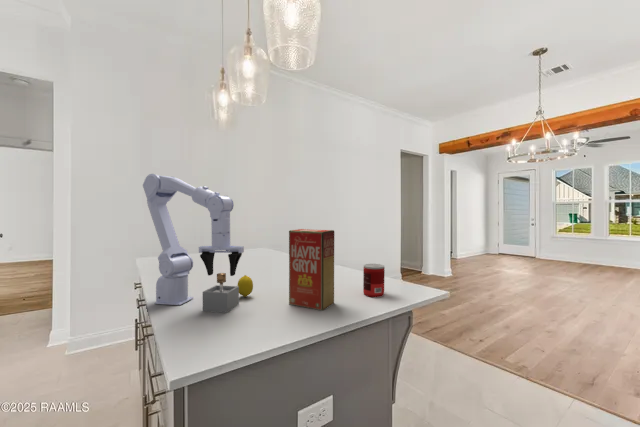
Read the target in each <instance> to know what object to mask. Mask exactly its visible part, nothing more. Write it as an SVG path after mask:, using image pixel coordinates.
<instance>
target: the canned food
mask: <svg viewBox="0 0 640 427" xmlns="http://www.w3.org/2000/svg"><path fill="white" fill-rule="evenodd" d="M362 273H363V281H362V282H363V285H362V286H363V295H364V296H366V297H369V298H381V297H383V296H384V295H385V265H383V264H380V263H366V264H363V272H362Z"/></svg>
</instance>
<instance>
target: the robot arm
mask: <svg viewBox="0 0 640 427" xmlns="http://www.w3.org/2000/svg"><path fill="white" fill-rule="evenodd" d="M142 188H143V190H144V191H143V192H144V194H145V196H146V204H147V207H148V211H149V213H150V216H151V219H152V222H153V226H154V229H155V232H156V234H157V238H158V239H159V244H160V245H161V246H160V247H161V249H162V251H161V252H160V254H159V255H158V256H157V259H158V270H159V273H160V274H161V275H160V277H159V276H158V278H157V280H156V284H155V302H153V304H155V305H169V306H181V305H183V304H185V303H187V302H189V301H191V300H193V299H194V296H189V274H190V271H192V269H193V267H194V260H193V258H192V256H191V255H190V254H189V253H188V249H186V248H184V247H183V246H181V245H180V241H179V239H178V236H177V233H176V230H175V227H174V225H173V222H172V219H171V216H170V213H169V210H168V207H167V204H168V202H170V201H171V200H172V198H173V197H174V196H175V195H176V194H177V192H179V193H182V194H184V195H187V196H189V197H191V200H192V202H194V203H196V204H198V205H199V206H202V207H204V208H206V209H207V211H208V212H209V217H210V219H211V223H210V225H211V245H201V246H198V253H199V258H200V259H201V260H202V262H203V264H204V266H205V270H206V274H207V276H212V275H213V274H214V259H215V253H216V254H217V253H220V254H221V253H228V254H227V256H228V261H229V275H230V277H234V276H235V275H236V271H237V268H238V264H239V262H240V260H241V258H242V255H243V254H244V252H245V247H244V246H241V245H231V212H232V211H233V210H234V200H233V198H231V197H230V196H229V195H221V194H220V192H219V191H212V190H210V189H209V186H205V185H203V186H198V187H196V186H193V185H192V184H190V183H188V182H185V181H184V180H182V179H181V178H178V177H175V176H169V175H162V174H161V175H160V174H156V173H149V174H147V175H146V177H145V179H144V182H143V184H142Z"/></svg>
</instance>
